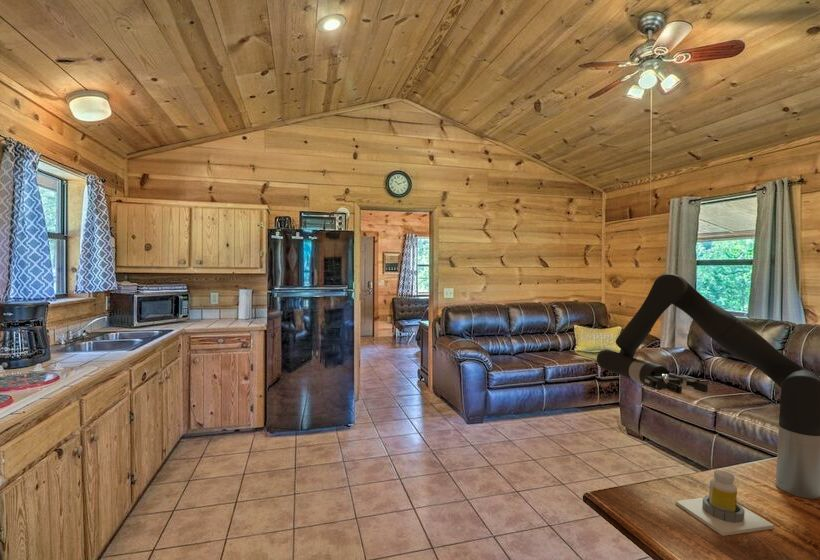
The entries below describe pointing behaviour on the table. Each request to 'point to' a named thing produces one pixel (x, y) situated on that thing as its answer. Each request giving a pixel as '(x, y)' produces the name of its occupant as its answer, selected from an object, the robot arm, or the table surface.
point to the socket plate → (723, 525)
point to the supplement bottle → (723, 491)
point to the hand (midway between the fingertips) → (693, 389)
